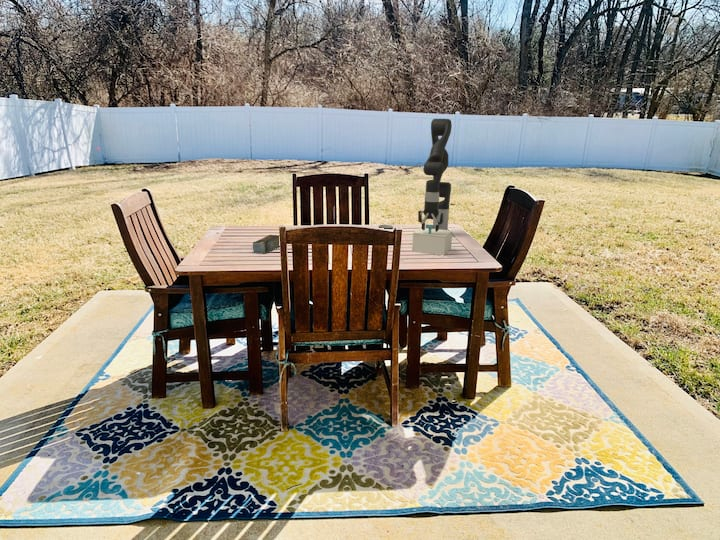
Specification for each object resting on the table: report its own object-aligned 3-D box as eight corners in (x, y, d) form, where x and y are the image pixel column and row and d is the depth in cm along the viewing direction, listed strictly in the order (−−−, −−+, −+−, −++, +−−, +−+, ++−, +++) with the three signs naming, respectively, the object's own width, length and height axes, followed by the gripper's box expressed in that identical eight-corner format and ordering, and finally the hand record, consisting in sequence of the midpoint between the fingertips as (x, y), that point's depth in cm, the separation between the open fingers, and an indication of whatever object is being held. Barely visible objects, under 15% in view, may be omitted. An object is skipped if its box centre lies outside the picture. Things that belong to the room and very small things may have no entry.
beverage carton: (252, 253, 270) (251, 241, 268) (270, 244, 287) (269, 233, 285) (265, 254, 268) (264, 242, 266) (282, 246, 285) (282, 234, 283)
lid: (421, 228, 288) (421, 218, 286) (452, 231, 281) (453, 221, 279) (413, 233, 275) (413, 223, 273) (445, 237, 268) (445, 227, 266)
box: (420, 245, 291) (421, 228, 288) (450, 249, 284) (452, 232, 281) (412, 251, 278) (413, 234, 275) (443, 255, 271) (445, 237, 268)
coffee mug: (374, 242, 296) (375, 225, 293) (385, 240, 301) (386, 224, 298) (387, 246, 287) (388, 229, 284) (398, 244, 292) (399, 227, 289)
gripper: (446, 200, 267) (444, 230, 272) (421, 198, 273) (419, 228, 278) (443, 202, 261) (441, 233, 266) (416, 200, 266) (415, 230, 271)
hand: (429, 230), depth 272 cm, fingers open, 6 cm apart
